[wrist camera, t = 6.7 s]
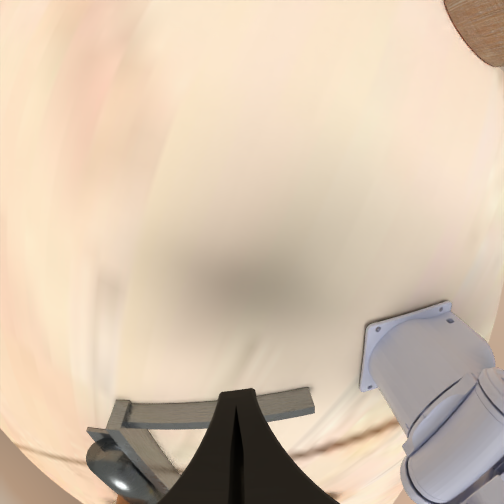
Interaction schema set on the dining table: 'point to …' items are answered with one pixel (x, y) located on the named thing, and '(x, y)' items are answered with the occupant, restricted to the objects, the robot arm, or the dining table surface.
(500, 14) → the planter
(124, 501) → the bracket
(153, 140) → the dining table surface
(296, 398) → the frame
